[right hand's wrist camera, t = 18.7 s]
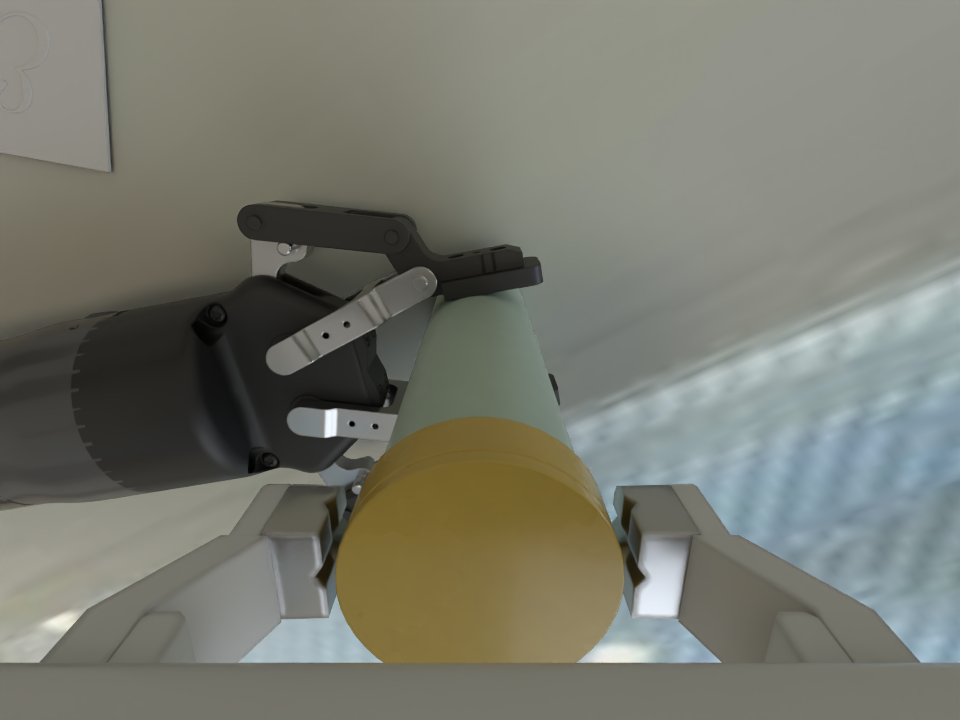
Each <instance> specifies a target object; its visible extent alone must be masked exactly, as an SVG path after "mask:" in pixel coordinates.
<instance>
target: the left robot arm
mask: <svg viewBox="0 0 960 720" xmlns="http://www.w3.org/2000/svg"><path fill="white" fill-rule="evenodd" d="M237 223H238V226H239V229H240V231H241V232H242V233H243V234H244V235H245V236H246V237H248V238H250V240H251V264H252V277H249V278H247V279H246V280H244V281H243V282H242V283H241V284H240V285H239V286H237V287H236V288H235V289H234V290H232V291H229V292H224V293H219V294H213V295H208V296H203V297H197V298H192V299H186V300H181V301H176V302H170V303H165V304H160V305H154V306H149V307H144V308H138V309H133V310H127V311H122V312H117V311H112V312H102V313H95V314H91V315H89V316H88V317H85V318H84V319H79V320H74V321H69V322H64V323H60V324H56V325H52V326H48V327H45V328H42V329H38V330H36V331H33V332H30V333H27V334H25V335H21V336H18V337H15V338H11V339H6V340H1V341H0V511H2V510H8V509H14V508H20V507H27V506H33V505H39V504H45V503H80V502H92V501H100V500H108V499H114V498H120V497H126V496H132V495H139V494H145V493H151V492H157V491H163V490H169V489H176V488H182V487H188V486H194V485H200V484H206V483H212V482H219V481H225V480H231V479H237V478H243V477H248V476H252V475H256V474H259V473H262V472H265V471H268V470H272V469H275V468H292V469H296V470H300V471H303V472H308V473H316V472H318V473H319V475H320V476H321V478H322V479H323V480H324V482H325V483H326V485H342V486H343V487H344V489H345V493H346V501H347V505H346V508H345V511H344V513H343V517H344V518H345V519H346V521H347V522H348V521H349V519H350V516H351V513H352V511H353V508H354V505H355V503H356V500H357V497H358V494H359V492H360V490H361V487H362V485H363V482H364V480H365V479H366V477H367V475H368V474H369V472H370V470H371V468H372V467H373V466H374V465H375V464H376V462H377V461H376V462H375V461H374V459H373V458H372V457H370V456H366V457H362V458H358V459H349V458H347V457H345V456H343V454H344V453H345V452H346V451H347V450H348V449H349V448H350V447H351V446H352V445H353V444H354V443H355V442H356V441H357V440H358V439H367V440H376V441H386V442H389V440H390V437H391V434H392V431H393V428H394V425H395V422H396V419H397V416H398V413H399V410H400V407H401V404H402V401H403V398H404V395H405V392H406V389H407V386H408V383H409V382H408V381H400V380H391V379H388V377H387V373H386V370H385V368H384V366H383V364H382V363H381V361H380V359H379V357H378V356H377V353H376V331H375V328H377V327H378V326H380V325H382V324H383V323H384V322H386V321H387V320H388V319H390V318H391V317H393V316H395V315H397V314H399V313H401V312H403V311H404V310H406V309H408V308H410V307H412V306H414V305H416V304H418V303H420V302H421V301H423V300H425V299H427V298H429V297H433V296H438V295H443V297H444V301H451V300H456V299H462V298H466V297H472V296H478V295H484V294H489V293H495V292H500V291H506V290H511V289H517V288H522V287H528V286H533V285H537V284H540V283H542V282H543V278H542V271H541V264H540V261H539V260H538V258H537V257H525V258H523V254H522V251H521V249H520V247H516V246H511V245H506V244H505V245H500V246H495V247H489V248H484V249H479V250H473V251H468V252H462V253H457V254H452V255H446V256H441V255H437V254H434V253H433V252H431V251H430V250H429V249H428V248H427V247H426V245H425V244H424V242H423V241H422V239H421V237H420V236H419V234H418V232H417V228H416V224H415V222H414V221H413V219H412V218H410V217H409V216H407V215H405V214H397V213H388V212H379V211H369V210H360V209H351V208H341V207H332V206H323V205H314V204H304V203H295V202H286V201H272V202H264V203H257V204H253V205H248V206H245V207H243V208H242V209H241V210H240V212H239V214H238V218H237ZM314 246H316V247H325V248H335V249H344V250H354V251H363V252H373V253H382V254H386V256H387V257H388V259H389V260H390V262H391V263H392V265H393V266H394V268H395V270H396V271H394V272H392V273H390V274H389V275H387V276H385V277H383V278H379V279H377V280H375V281H374V282H372V283H370V284H368V285H366V286H364V287H362V288H361V289H359V290H357V291H355V292H353V293H351V294H350V295H348V296H346V297H344V298H340V297H337V296H335V295H333V294H331V293H328V292H326V291H324V290H322V289H320V288H317V287H315V286H313V285H311V284H308V283H306V282H304V281H302V280H300V279H297V278H295V277H293V276H291V275H288V274H286V273H285V268H286V266H287V264H288V263H289V262H298V261H300V260H302V259H304V258H306V257H308V256H309V255H310V254H311V253H312V251H313V249H314ZM548 375H549V378H550V381H551V384H552V387H553V390H554V393H555V396H556V399H557V402H558V405H560V399H559V392H558V387H557V384H556V381H555V378H554V376H553V375H552V374H548Z"/></svg>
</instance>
